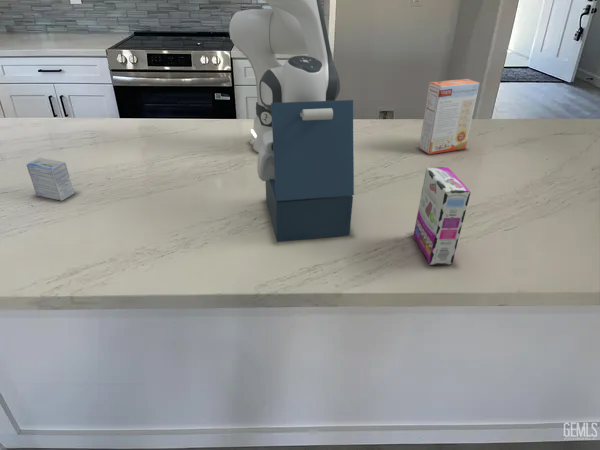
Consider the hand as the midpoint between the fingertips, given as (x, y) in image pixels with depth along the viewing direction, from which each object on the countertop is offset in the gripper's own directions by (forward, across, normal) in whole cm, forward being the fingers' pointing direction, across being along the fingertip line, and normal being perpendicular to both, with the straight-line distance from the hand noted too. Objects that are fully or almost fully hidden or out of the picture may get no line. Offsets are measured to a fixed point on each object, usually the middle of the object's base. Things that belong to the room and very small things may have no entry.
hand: (302, 194), depth 103 cm
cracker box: (+4, -51, -32) cm, 60 cm away
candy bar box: (+4, -24, +20) cm, 32 cm away
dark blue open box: (+4, 0, +4) cm, 6 cm away
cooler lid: (-14, 0, +9) cm, 17 cm away
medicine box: (+5, +59, -17) cm, 61 cm away
